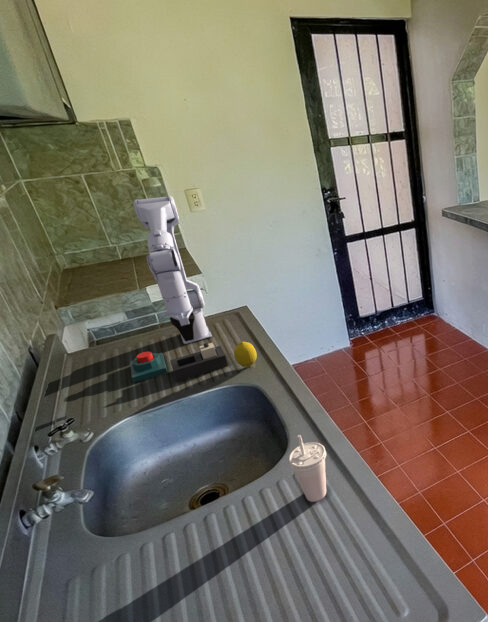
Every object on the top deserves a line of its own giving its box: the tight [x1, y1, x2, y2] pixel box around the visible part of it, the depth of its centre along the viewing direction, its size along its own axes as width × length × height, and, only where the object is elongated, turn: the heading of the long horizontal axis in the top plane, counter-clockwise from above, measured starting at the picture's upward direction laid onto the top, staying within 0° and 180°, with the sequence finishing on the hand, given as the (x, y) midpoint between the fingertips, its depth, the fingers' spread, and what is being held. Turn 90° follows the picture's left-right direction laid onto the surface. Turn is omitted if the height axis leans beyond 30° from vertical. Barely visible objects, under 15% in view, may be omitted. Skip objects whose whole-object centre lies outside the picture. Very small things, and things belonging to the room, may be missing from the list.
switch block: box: [129, 352, 168, 384], centre depth 128 cm, size 11×8×4 cm
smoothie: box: [288, 434, 327, 503], centre depth 82 cm, size 6×6×14 cm
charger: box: [198, 342, 217, 359], centre depth 128 cm, size 3×3×7 cm
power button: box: [135, 351, 153, 363], centre depth 127 cm, size 4×4×2 cm
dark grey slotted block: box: [170, 345, 229, 382], centre depth 128 cm, size 7×13×4 cm, turn 126°
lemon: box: [233, 341, 258, 368], centre depth 126 cm, size 6×6×8 cm
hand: (189, 339), depth 126 cm, fingers closed
